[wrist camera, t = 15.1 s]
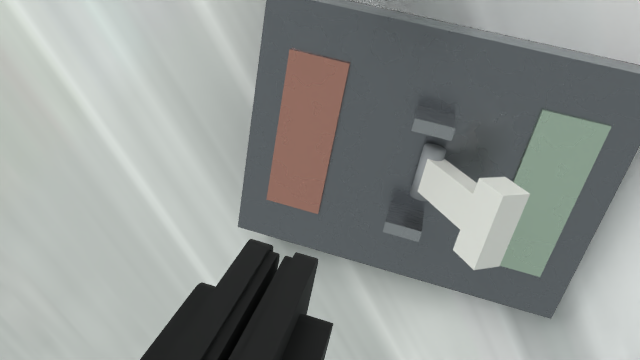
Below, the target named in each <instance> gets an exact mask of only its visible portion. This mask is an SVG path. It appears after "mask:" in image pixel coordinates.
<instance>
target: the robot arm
mask: <svg viewBox="0 0 640 360" xmlns="http://www.w3.org/2000/svg"><path fill="white" fill-rule="evenodd" d="M278 263H279V254H278V253H275V252H273V246H272V245H270V244H266V243H263V242H260V241H256V240H253V239H250V240H249V241H248V242H247V243H246V245H245V246H244V248H243V249H242V250H241V252H240V253H239V255H238V256H237V258H236V259H235V260H234V262H233V263H232V265H231V266H230V267H229V269H228V270H227V272H226V273H225V275H224V276H223V277H222V279H221V280H220V282H219V283H218V284H217V286H216V287H215V286H212V285H208V284H205V283H200V284H198V285H197V286H196V287H195V289H194V290H193V291H192V293H191V294H190V295H189V296H188V298H187V299H186V300H185V302H184V303H183V304H182V306H181V307H180V308H179V309H178V311H177V312H176V313H175V315H174V316H173V317H172V319H171V320H170V321H169V323H168V324H167V325H166V326H165V328H164V329H163V330H162V332H161V333H160V334H159V336H158V337H157V338H156V340H155V341H154V342H153V343H152V345H151V346H150V347H149V349H148V350H147V351H146V353H145V354H144V355H143V356H142V358H141V359H140V360H324V358H325V354H326V350H327V346H328V342H329V339H330V335H331V331H332V326H333V323H330V322H327V321H324V320H321V319H317V318H314V317H311V316H308V315H307V310H308V306H309V301H310V296H311V292H312V287H313V283H314V278H315V274H316V269H317V265H318V259H317V258H314V257H310V256H307V255H304V254H300V253H297V252H296V253H295V254H294V256H293V258H292V257H288V256H285V257H284V259H283V261H282V262H281V264H280V266H279V268H278ZM277 268H278V270H277Z"/></svg>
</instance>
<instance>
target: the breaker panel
mask: <svg viewBox="0 0 640 360" xmlns="http://www.w3.org/2000/svg"><path fill="white" fill-rule="evenodd" d="M428 143H429V144H436V145H439V146H441V147H443V148H445V149H446V154H445V157H444V159H445V160H447V161H448V162H449V163H451V164H452V165H453V166H455V167H456V168H457V169H459V170H460V171H461V172H463V173H464V174H465V175H467V176H468V177H470V178H471V179H472V180H474V181H475V182H476V183H477V182H478V180H479V178H489V177H506V178H508V179H509V180H511V181H512V182H514V183H515V184H517V185H518V186H519V187H521V188H522V189H524V190H525V191H527V192H528V193H530V196H529V198H528V200H527V203H526V205H525V207H524V210H523V212H522V214H521V217H520V219H519V221H518V224H517V226H516V229H515V231H514V233H513V236H512V238H511V240H510V243H509V245H508V247H507V250H506V252H505V254H504V257H503V259H502V261H501V264H500V266H499V267H492V268H485V269H479V270H473V269H472V268H471V267H470V266H469V265H468V264H467V263H466V262H465V261H464V260H463V259H462V258H461V257H460V256H459V255H457V254H456V253H455V252H454V251H453V248H454V245H455V243H456V240H457V237H458V234H459V232H460V229H459V228H458V227H457V226H455V225H454V224H453V223H452V222H451V221H450V220H449V219H448V218H447V217H445V216H444V215H443V214H442V213H441V212H440V211H439V210H438V209H436V208H435V207H434V206H433V205H432V204H431V203H430V202H429V201H420V200H417V199H415V198H413V197H412V196H411V195H410V191H411V187H412V184H413V181H414V177H415V174H416V171H417V167H418V164H419V161H420V157H421V154H422V151H423V147H424V145H425V144H428ZM639 146H640V65H637V64H632V63H628V62H623V61H619V60H614V59H610V58H605V57H601V56H596V55H592V54H587V53H583V52H578V51H574V50H569V49H565V48H560V47H556V46H551V45H547V44H542V43H538V42H533V41H529V40H524V39H520V38H515V37H511V36H506V35H502V34H497V33H493V32H488V31H484V30H479V29H475V28H470V27H466V26H461V25H457V24H452V23H448V22H443V21H439V20H434V19H430V18H425V17H421V16H416V15H412V14H407V13H403V12H398V11H394V10H389V9H385V8H380V7H376V6H371V5H367V4H362V3H358V2H353V1H349V0H267V1H266V9H265V17H264V25H263V33H262V41H261V49H260V56H259V64H258V72H257V80H256V88H255V96H254V104H253V112H252V120H251V127H250V135H249V143H248V151H247V159H246V167H245V175H244V183H243V191H242V198H241V206H240V214H239V222H238V227H241V228H244V229H247V230H251V231H254V232H258V233H261V234H264V235H268V236H271V237H275V238H278V239H281V240H285V241H288V242H292V243H295V244H299V245H302V246H305V247H309V248H312V249H316V250H319V251H322V252H326V253H329V254H333V255H336V256H339V257H343V258H346V259H350V260H353V261H356V262H360V263H363V264H367V265H370V266H374V267H377V268H380V269H384V270H387V271H391V272H394V273H397V274H401V275H404V276H408V277H411V278H414V279H418V280H421V281H425V282H428V283H431V284H435V285H438V286H442V287H445V288H449V289H452V290H455V291H459V292H462V293H466V294H469V295H472V296H476V297H479V298H483V299H486V300H489V301H493V302H496V303H500V304H503V305H506V306H510V307H513V308H517V309H520V310H524V311H527V312H530V313H534V314H537V315H541V316H544V317H547V318H552V316H553V314H554V312H555V310H556V308H557V306H558V304H559V302H560V300H561V298H562V296H563V294H564V292H565V290H566V288H567V286H568V284H569V282H570V280H571V279H572V277H573V275H574V273H575V271H576V269H577V267H578V265H579V263H580V261H581V259H582V257H583V255H584V253H585V251H586V249H587V247H588V245H589V243H590V241H591V239H592V238H593V236H594V234H595V232H596V230H597V228H598V226H599V224H600V222H601V220H602V218H603V216H604V214H605V212H606V210H607V208H608V206H609V204H610V202H611V200H612V198H613V197H614V195H615V193H616V191H617V189H618V187H619V185H620V183H621V181H622V179H623V177H624V175H625V173H626V171H627V169H628V167H629V165H630V163H631V161H632V159H633V157H634V156H635V154H636V152H637V150H638V148H639Z"/></svg>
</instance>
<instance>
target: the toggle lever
mask: <svg viewBox="0 0 640 360" xmlns="http://www.w3.org/2000/svg"><path fill="white" fill-rule="evenodd" d="M445 154H446V149H445V148H443V147H441V146H439V145H436V144H429V143H428V144H425V145H424V147H423V151H422V154H421V157H420V161H419V164H418V167H417V171H416V174H415V177H414V181H413V184H412V187H411V191H410V195H411V196H412V197H413V198H415V199H417V200H420V201H429V202H430V203H431V204H432V205H433V206H434V207H435V208H436V209H438V210H439V211H440V212H441V213H442V214H443V215H444V216H445V217H447V218H448V219H449V220H450V221H451V222H452V223H453V224H454V225H455V226H457V227H458V228H459V229H460V232H459V234H458V237H457V240H456V243H455V245H454V248H453V251H454V252H455V253H456V254H457V255H459V256H460V257H461V258H462V259H463V260H464V261H465V262H466V263H467V264H468V265H469V266H470V267H471V268H472V269H473V270H479V269H485V268H492V267H499V266H500V264H501V261H502V259H503V257H504V254H505V252H506V250H507V247H508V245H509V243H510V240H511V238H512V236H513V233H514V231H515V229H516V226H517V224H518V221H519V219H520V217H521V214H522V212H523V210H524V207H525V205H526V203H527V200H528V198H529V196H530V193H528V192H527V191H525V190H524V189H522V188H521V187H519V186H518V185H517V184H515V183H514V182H512V181H511V180H509V179H508V178H506V177H489V178H479V180H478V182H477V183H476V182H475V181H474V180H472V179H471V178H470V177H468V176H467V175H465V174H464V173H463V172H461V171H460V170H459V169H457V168H456V167H455V166H453V165H452V164H451V163H449V162H448V161H447V160H445V159H444V157H445Z"/></svg>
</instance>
